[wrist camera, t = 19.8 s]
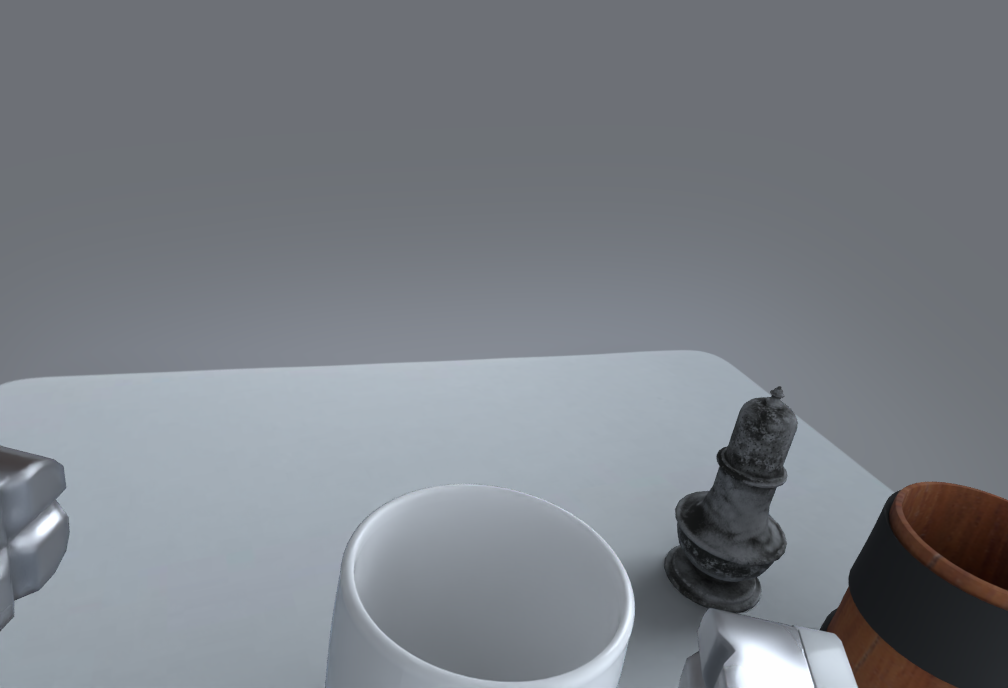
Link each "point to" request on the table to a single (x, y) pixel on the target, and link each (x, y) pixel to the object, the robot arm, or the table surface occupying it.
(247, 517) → the table surface
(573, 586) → the drinking glass
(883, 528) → the mug
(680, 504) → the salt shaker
